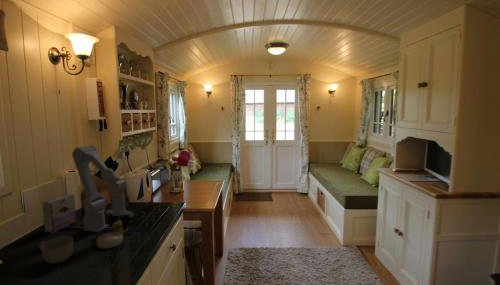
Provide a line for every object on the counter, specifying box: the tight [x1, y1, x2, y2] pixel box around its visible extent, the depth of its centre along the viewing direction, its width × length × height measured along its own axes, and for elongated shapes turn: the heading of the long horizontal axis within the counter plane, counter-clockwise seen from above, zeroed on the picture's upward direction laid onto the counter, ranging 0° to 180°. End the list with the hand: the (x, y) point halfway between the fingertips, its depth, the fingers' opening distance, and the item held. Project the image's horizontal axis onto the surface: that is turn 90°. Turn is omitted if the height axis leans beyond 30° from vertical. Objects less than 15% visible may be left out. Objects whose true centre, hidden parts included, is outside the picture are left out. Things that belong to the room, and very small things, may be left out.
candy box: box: [41, 193, 78, 234], centre depth 142 cm, size 14×6×16 cm, turn 164°
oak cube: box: [111, 219, 129, 234], centre depth 137 cm, size 5×5×5 cm
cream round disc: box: [96, 231, 124, 249], centre depth 126 cm, size 11×11×3 cm
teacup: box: [38, 235, 75, 265], centre depth 112 cm, size 14×11×8 cm
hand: (120, 228), depth 137 cm, fingers closed on oak cube, 5 cm apart
